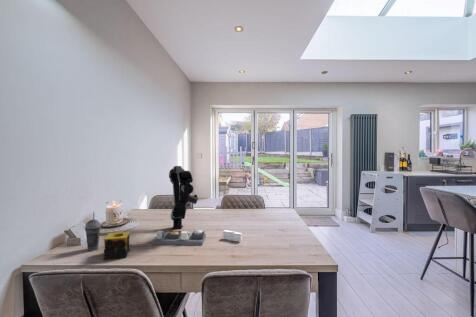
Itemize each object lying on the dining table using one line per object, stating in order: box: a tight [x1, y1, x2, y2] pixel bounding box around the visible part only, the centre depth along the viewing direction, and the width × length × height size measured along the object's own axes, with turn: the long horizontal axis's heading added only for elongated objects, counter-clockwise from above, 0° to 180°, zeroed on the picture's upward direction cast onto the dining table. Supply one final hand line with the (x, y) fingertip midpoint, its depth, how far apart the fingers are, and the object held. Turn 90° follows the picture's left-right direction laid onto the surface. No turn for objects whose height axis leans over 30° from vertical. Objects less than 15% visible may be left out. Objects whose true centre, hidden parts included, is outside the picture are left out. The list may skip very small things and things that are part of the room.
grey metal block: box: [156, 230, 165, 240], centre depth 139 cm, size 3×3×4 cm
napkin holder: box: [222, 229, 243, 243], centre depth 144 cm, size 15×11×6 cm
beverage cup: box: [84, 211, 102, 252], centre depth 128 cm, size 7×7×20 cm
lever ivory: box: [181, 230, 189, 240], centre depth 139 cm, size 3×3×4 cm
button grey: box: [193, 229, 203, 235], centre depth 142 cm, size 5×5×2 cm
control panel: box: [151, 230, 207, 246], centre depth 143 cm, size 13×28×4 cm, turn 89°
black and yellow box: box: [103, 231, 131, 261], centre depth 122 cm, size 10×10×10 cm
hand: (183, 216), depth 151 cm, fingers closed
